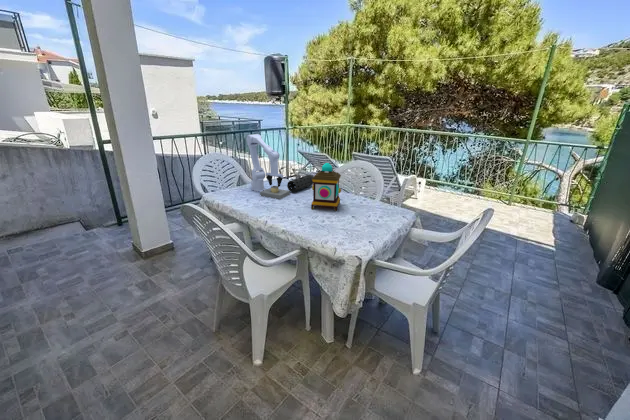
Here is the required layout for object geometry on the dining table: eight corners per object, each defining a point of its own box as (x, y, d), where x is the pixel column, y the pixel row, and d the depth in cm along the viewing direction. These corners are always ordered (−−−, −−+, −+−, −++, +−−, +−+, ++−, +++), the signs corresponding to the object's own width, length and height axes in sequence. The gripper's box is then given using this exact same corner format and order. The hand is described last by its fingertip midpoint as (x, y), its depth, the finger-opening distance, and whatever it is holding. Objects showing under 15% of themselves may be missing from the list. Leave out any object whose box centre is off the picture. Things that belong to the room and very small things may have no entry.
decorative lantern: (338, 212, 179) (340, 166, 169) (308, 210, 183) (309, 164, 173) (341, 202, 198) (344, 160, 187) (314, 200, 201) (315, 159, 191)
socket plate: (260, 195, 211) (260, 192, 210) (271, 191, 222) (270, 187, 221) (279, 199, 203) (279, 195, 202) (290, 194, 215) (290, 190, 214)
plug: (271, 195, 212) (270, 186, 209) (274, 194, 215) (274, 185, 213) (275, 196, 210) (275, 187, 208) (278, 195, 213) (278, 186, 211)
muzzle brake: (286, 192, 221) (286, 179, 217) (306, 184, 243) (306, 173, 240) (296, 194, 216) (296, 181, 213) (315, 186, 238) (315, 174, 235)
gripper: (263, 168, 205) (263, 185, 210) (279, 170, 199) (279, 188, 204) (268, 166, 211) (269, 183, 216) (284, 168, 205) (285, 186, 210)
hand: (274, 185), depth 210 cm, fingers open, 7 cm apart
